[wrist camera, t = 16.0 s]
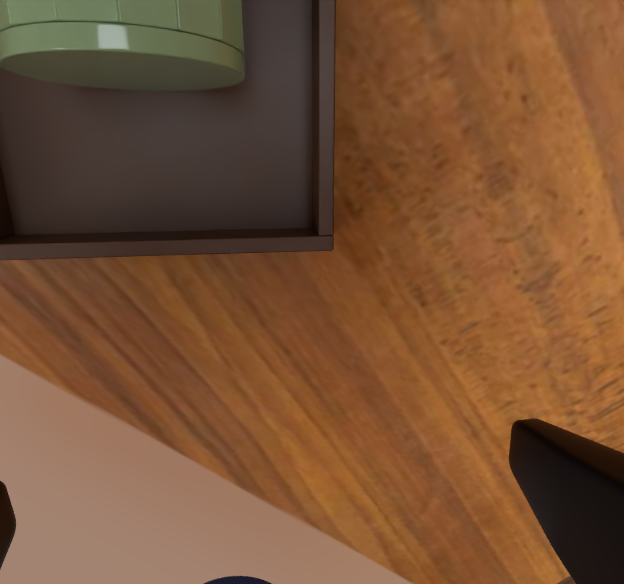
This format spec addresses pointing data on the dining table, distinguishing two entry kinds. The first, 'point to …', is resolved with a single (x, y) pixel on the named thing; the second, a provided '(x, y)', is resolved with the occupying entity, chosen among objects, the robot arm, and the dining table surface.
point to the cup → (125, 43)
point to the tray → (179, 154)
